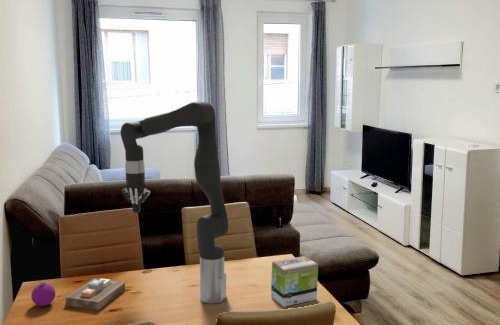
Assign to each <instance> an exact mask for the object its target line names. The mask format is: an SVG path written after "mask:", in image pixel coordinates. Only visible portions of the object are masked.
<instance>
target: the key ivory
mask: <svg viewBox="0 0 500 325" xmlns="http://www.w3.org/2000/svg"><path fill="white" fill-rule="evenodd" d="M99 279H100V280H102V281H104V289H105V288H106V287H107V286H109V285H110V280H111V279H109V278H102V277H101V278H99ZM101 291H102V290H101Z"/></svg>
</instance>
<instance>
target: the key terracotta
mask: <svg viewBox="0 0 500 325" xmlns="http://www.w3.org/2000/svg"><path fill="white" fill-rule="evenodd" d="M96 294H97V289H94V288H86V289H85V290H83V291H82V292H81V297H86V298H92V297H93V296H95V295H96Z"/></svg>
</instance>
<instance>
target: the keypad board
mask: <svg viewBox="0 0 500 325" xmlns="http://www.w3.org/2000/svg"><path fill="white" fill-rule="evenodd" d="M94 279H95V280H100V279H101V278H95V277H94V278H92V279H91V280H89V281H88V282H86V283H85V284H84V285H82V286H80V287H78V289H76V290H74V291H73V292H72V293H69V294H68V295H67V296H65V306H69V307H74V308H80V309H87V310H93V311H100V310H101V309H103V308H104V307H105V306H107V305H109V303H111V302H112V301H113V300H115V299H116V298H117V297H118V296H119V295H121V294H122V293H123V292H125V291H126V282H125V281H124V282H123V281H117V280H112V279H110V285H109V286H107V287H106V288H105V289H103V290H102V291H100V292H98V293H97V294H96V295H95V296H93V297H92V298H86V297H81V292H82V291H83V290H85V289H86V288H88V283H90V282H91V281H93V280H94Z"/></svg>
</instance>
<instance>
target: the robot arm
mask: <svg viewBox="0 0 500 325" xmlns="http://www.w3.org/2000/svg"><path fill="white" fill-rule="evenodd" d="M213 106H214V105H212V104H211V103H210V102H209V101H208V102H207V101H196V100H195V101H192V102H189V103H187V104H185V105H183V106H181V107H179V108H177V109H175V110H172V111H169V112H166V113H161V114H156V115H152V116H148V117H146V118H144V119H142V120H137V121H127V122H124V123H123V124H122V125H121V127H120V138H121V141H122V143H123V147H124V150H125V154H124V156H125V163H124V164H125V165H124V166H125V169H124V170H125V183H126V184H125V188H123V189H121V190H120V193H121V194H122V195H123V197H124V198H125V200H126V201H127V202H128V203H131V205H132V211H133V213H135V214H139V213H140V212H141V210H142V209H141V204H142V203H144V202H145V201H146V200H147V199H148V197H149V196H150V194H151V192H152V191H151V190H150V189H149V190H148V189H147V187H146V184H145V183H146V177H145V172H146V171H145V162H144V147H143V146H142V145H139V144H138V142H137V140H138V139H143V138H146V137H149V136H154V135H158V134H162V133H166V132H168V131H170V130H172V129H176V128H181V127H194V128H195V127H196V128H197V133H198V134H197V135H198V144H197V147H196V148H197V149H196V152H195V155H194V156H195V157H194V161H193V162H194V163H193V164H194V174H195V175H194V176H195V180H196V183H197V185H198V186H199V188H200V189H201V191H202V192H203V193H204V195H205V196H206V198H207V200H208V203H209V206H210V213H209V214H206V215H202V216H200V217H199V218H198V220H197V222H196V237H197V247H198V248H197V249H198V252H199V281H200V282H199V284H200V285H199V286H200V287H199V288H200V290H199V291H200V292H199V296H200V297H199V298H200V301H201V302H202V303H205V304H222V303H223V301H224V300H225V299H226V298H227V273H226V272H225V249H224V247H223V246H221V245H218V244H215V243H216V242H215V239H217V238H221V237H224V236H226V235H227V234H228V231H229V218H228V214H227V209H226V205H225V199H224V195H223V187H222V180H221V169H220V163H219V161H220V160H219V155H218V154H219V153H218V147H217V146H218V145H217V137H216V136H217V135H216V134H217V132H216V130H217V129H216V128H217V126H216V111H215V108H214V107H213Z"/></svg>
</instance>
